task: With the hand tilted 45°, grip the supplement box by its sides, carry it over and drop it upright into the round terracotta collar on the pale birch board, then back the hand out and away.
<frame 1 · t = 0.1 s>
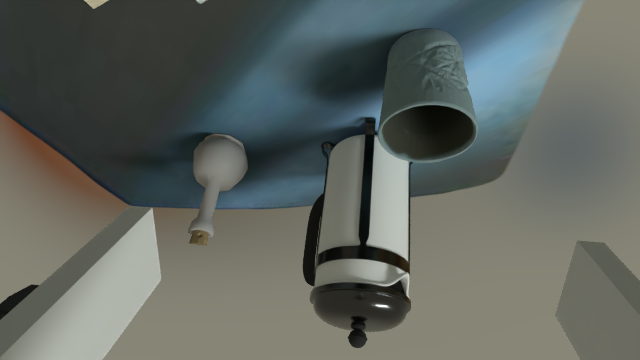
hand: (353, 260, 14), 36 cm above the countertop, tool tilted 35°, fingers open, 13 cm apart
potion bottle: (224, 144, 74), on the countertop
coffee press: (365, 150, 71), on the countertop
teal cup: (425, 54, 53), on the countertop
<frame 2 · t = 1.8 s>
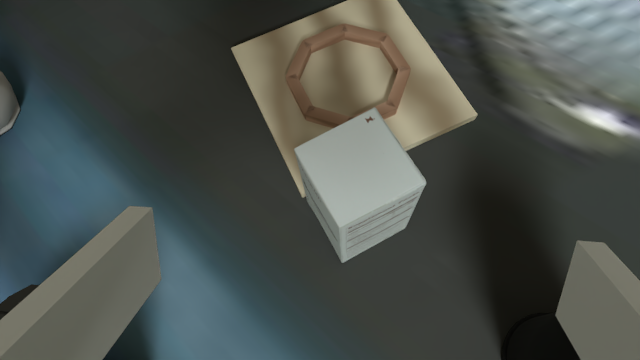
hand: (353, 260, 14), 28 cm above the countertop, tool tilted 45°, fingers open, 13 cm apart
supplement box: (355, 216, 44), on the countertop
collar board: (347, 84, 50), on the countertop
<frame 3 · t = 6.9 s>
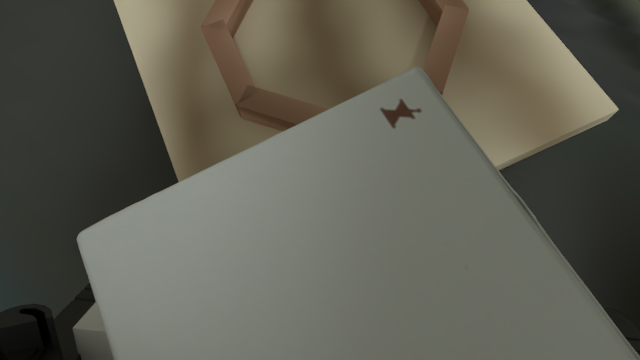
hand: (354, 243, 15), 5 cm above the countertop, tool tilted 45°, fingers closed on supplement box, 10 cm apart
supplement box: (347, 345, 19), on the countertop, touching gripper
collar board: (334, 46, 24), on the countertop
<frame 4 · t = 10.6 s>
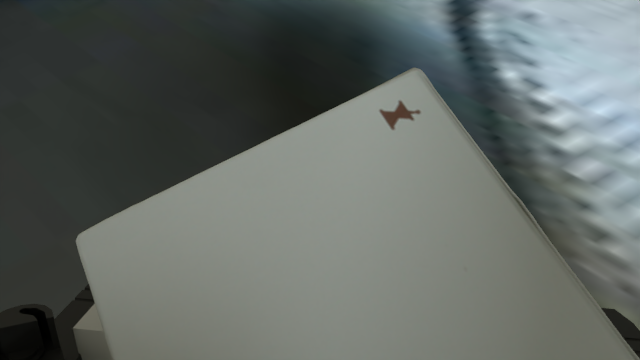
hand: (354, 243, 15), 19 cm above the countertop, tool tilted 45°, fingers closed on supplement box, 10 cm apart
supplement box: (347, 346, 19), point 14 cm above the countertop, touching gripper
when the fingers open (8 cm above the countertop, at t = 13.8 s): supplement box drops 2 cm, resting on collar board.
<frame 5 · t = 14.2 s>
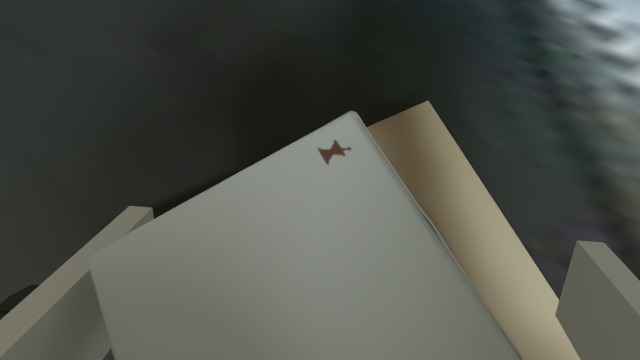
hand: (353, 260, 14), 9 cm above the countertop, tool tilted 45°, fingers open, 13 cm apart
supplement box: (353, 350, 20), point 1 cm above the countertop, touching collar board
collar board: (346, 348, 22), on the countertop
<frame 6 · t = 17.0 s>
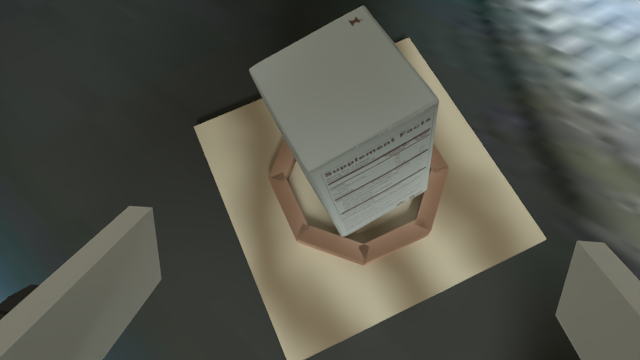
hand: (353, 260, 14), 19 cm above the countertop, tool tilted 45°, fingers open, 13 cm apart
supplement box: (361, 178, 34), point 1 cm above the countertop, touching collar board
collar board: (357, 183, 35), on the countertop
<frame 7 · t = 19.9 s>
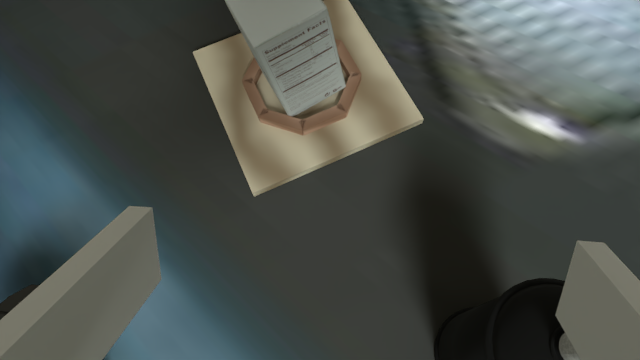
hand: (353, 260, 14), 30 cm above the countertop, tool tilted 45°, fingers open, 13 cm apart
supplement box: (304, 82, 50), point 1 cm above the countertop, touching collar board
aerosol can: (480, 355, 40), on the countertop
collar board: (303, 88, 52), on the countertop
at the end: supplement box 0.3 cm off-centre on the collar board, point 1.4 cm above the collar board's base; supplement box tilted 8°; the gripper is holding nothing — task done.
